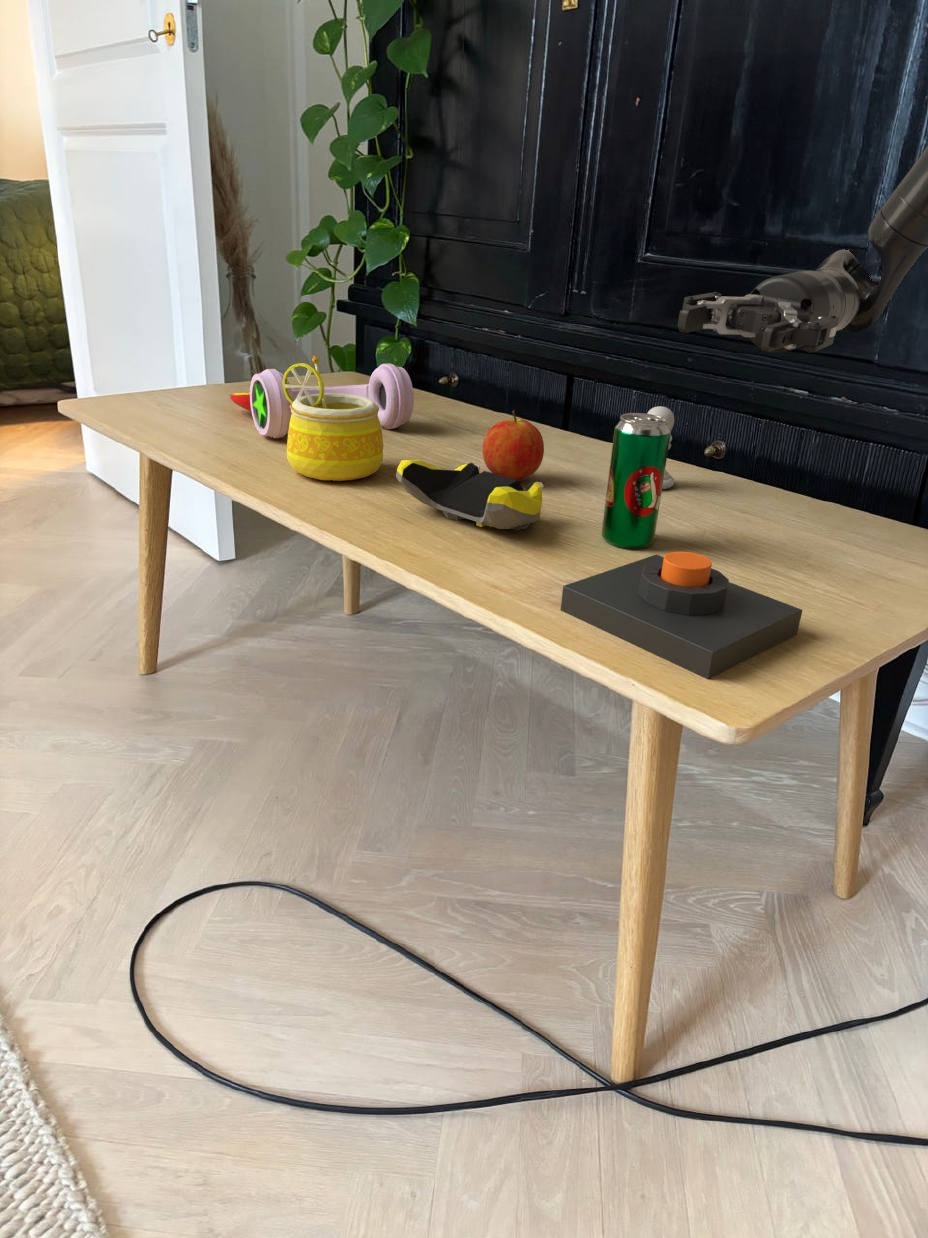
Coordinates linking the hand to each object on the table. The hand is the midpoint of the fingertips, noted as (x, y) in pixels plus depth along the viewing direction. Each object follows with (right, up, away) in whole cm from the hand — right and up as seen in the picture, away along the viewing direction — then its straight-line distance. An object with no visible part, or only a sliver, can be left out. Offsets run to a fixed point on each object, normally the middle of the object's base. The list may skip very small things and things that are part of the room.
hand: (723, 329), depth 84 cm
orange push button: (-7, -24, -14) cm, 29 cm away
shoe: (-23, -17, +7) cm, 30 cm away
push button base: (-7, -27, -13) cm, 31 cm away
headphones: (-44, 0, +40) cm, 60 cm away
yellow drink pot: (-39, -10, +20) cm, 45 cm away
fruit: (-19, -11, +20) cm, 30 cm away
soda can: (-8, -20, +3) cm, 22 cm away
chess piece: (-2, -11, +22) cm, 24 cm away
